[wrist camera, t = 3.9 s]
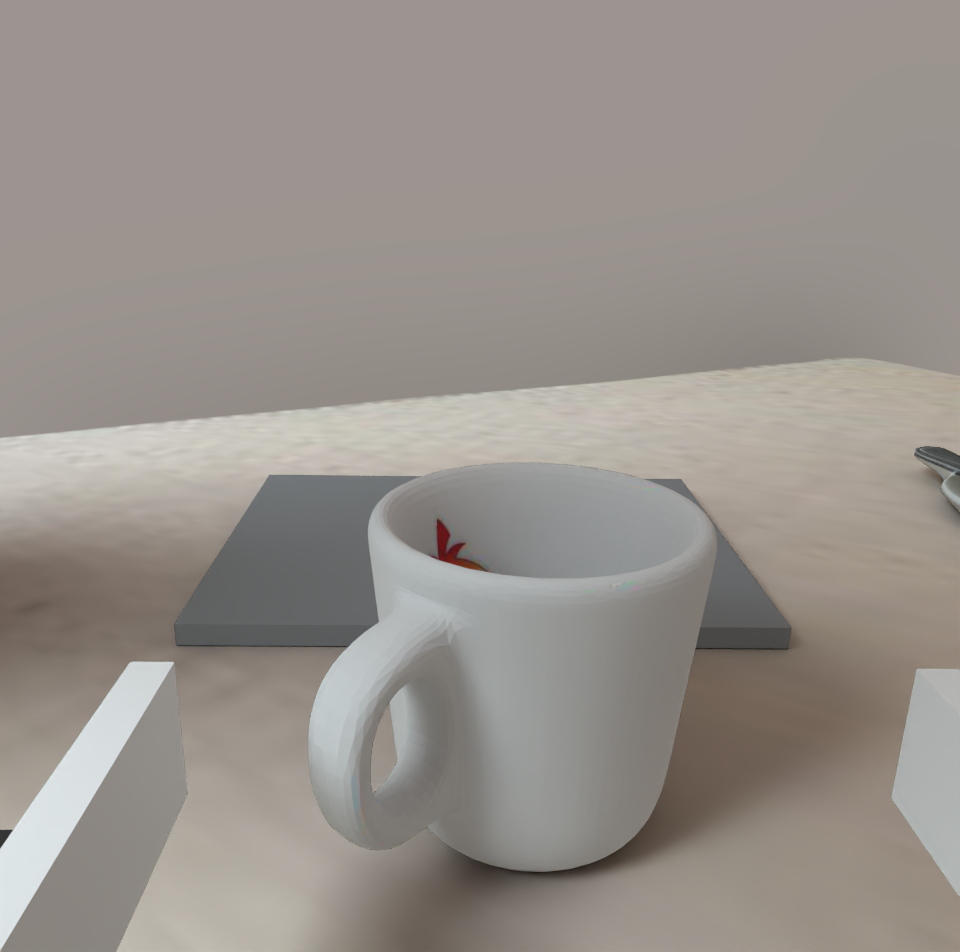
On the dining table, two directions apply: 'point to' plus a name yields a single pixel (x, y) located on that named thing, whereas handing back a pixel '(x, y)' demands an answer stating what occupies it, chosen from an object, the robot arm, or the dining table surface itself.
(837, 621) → the dining table surface
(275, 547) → the mat
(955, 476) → the avocado toast plate
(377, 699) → the cup
